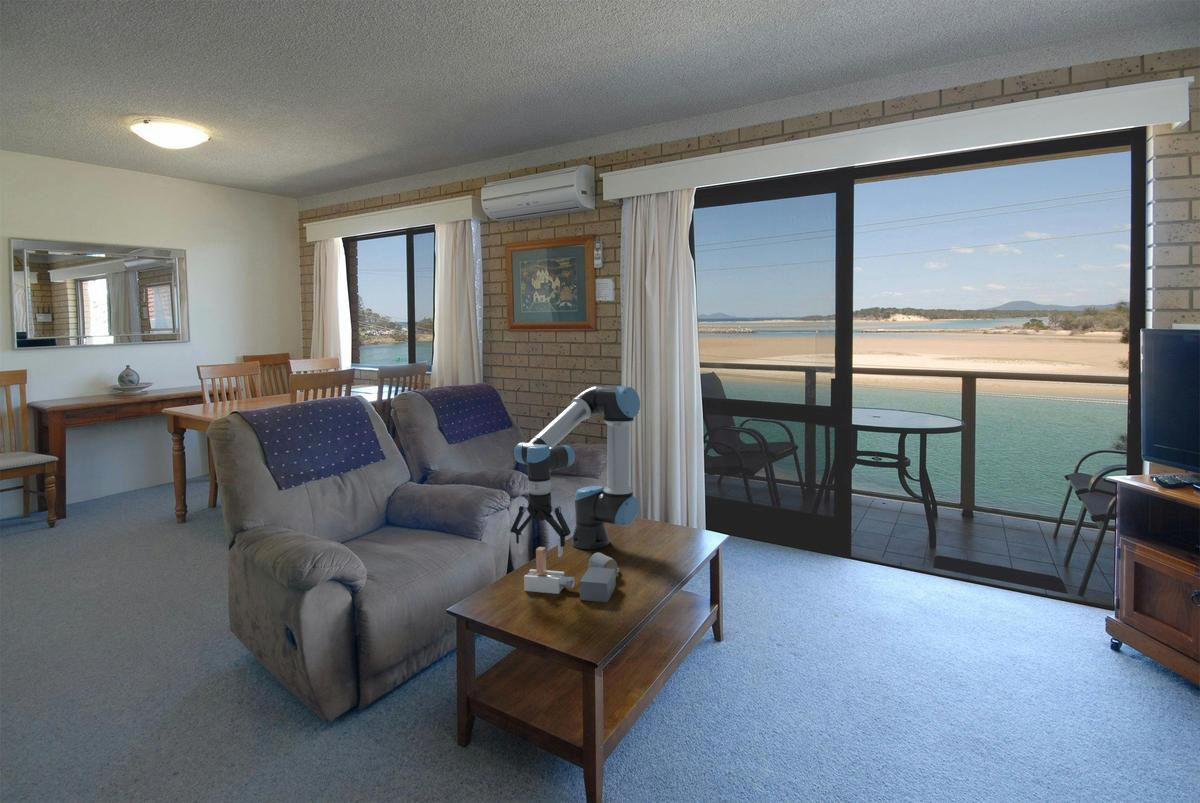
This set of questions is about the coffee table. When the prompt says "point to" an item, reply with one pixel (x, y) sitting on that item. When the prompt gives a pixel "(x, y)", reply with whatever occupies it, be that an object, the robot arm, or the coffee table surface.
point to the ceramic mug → (603, 562)
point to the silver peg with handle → (541, 569)
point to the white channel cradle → (543, 582)
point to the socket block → (597, 584)
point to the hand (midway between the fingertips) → (540, 554)
